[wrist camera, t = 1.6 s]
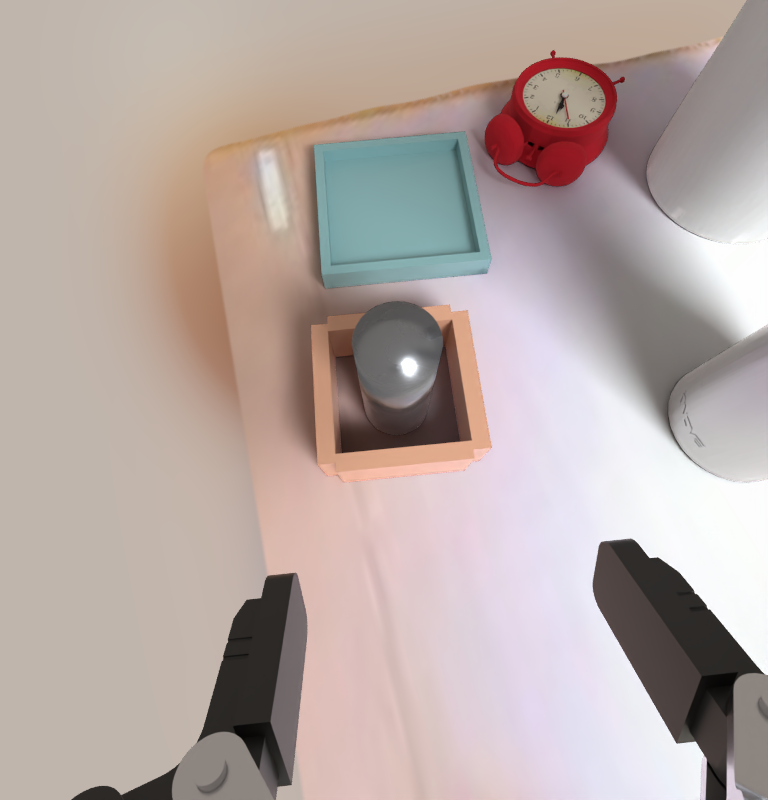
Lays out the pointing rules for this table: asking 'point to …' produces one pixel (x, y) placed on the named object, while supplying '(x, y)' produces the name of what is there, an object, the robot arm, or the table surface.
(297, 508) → the table surface
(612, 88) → the alarm clock
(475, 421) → the light orange open box
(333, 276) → the teal tray
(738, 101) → the utensil holder
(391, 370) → the canister
